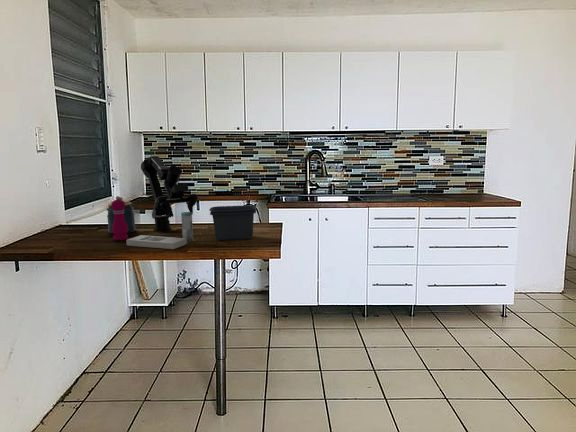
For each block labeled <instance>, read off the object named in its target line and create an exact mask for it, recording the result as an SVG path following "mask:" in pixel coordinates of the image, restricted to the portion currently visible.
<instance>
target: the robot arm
mask: <svg viewBox="0 0 576 432" xmlns="http://www.w3.org/2000/svg"><path fill="white" fill-rule="evenodd" d="M140 169H141V171H142V173H143V175H144V176H145V177H146V178H147V179H148V182H149V186H150V189H151V193H152V196H153V199H154V205H153V207H152V208H153V209H152V212H151V218H152V219H153V220H154V224H155V225H154V227H155V228H153V231H159V232H161V231H162V232H165V231H168V230H171V229H172V227H171V222H170V218H173V217H174V216H175V215H174V213H173V208H172V206H171V204H183V203H184V204H185V203H186V206H187V210H188V212H192V215H194V206H195V205H196V204H197V201H198V199H199V196H198V195H197V194H196V193H189V194H187V197H184V195H185V194H184V193H185V192H187V191H188V190H189V185H188V183H186V182H185V183H182V184H180V183H179V184H178V182H179V181H180V177H181V176H182V171H183V170H182V168H180V167H179V166H177V165H176V164H170V165H169V166H168V165H166V164H165V163H164V162H163V161H162V159H161V158H160V156H156V155H155V156H152V155H150V156H148V157H147V158H146V159H145V160H142V162H141V164H140ZM160 181H163V184H164V185H163V188H164V189H165V191H166V193H167V194H166V196H164V193H163V190H162V187H161V182H160Z"/></svg>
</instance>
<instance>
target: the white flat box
mask: <svg viewBox="0 0 576 432" xmlns="http://www.w3.org/2000/svg"><path fill="white" fill-rule="evenodd" d="M125 240H126V241H125V242H126V246H129V247H142V248H153V249H154V248H155V249H166V250H167V249H168V250H175V249H177V248H180V247H182V246H185V245H187V244H188V242H187V241H186V238H183V237H172V236H171V237H170V236H160V235H159V236H157V235H155V236H154V235H145V234H143V235H142V234H140V235H138V236H134V237H131V238H127V239H125Z"/></svg>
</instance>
